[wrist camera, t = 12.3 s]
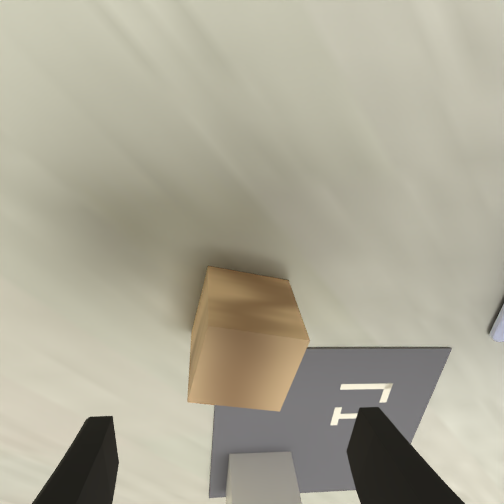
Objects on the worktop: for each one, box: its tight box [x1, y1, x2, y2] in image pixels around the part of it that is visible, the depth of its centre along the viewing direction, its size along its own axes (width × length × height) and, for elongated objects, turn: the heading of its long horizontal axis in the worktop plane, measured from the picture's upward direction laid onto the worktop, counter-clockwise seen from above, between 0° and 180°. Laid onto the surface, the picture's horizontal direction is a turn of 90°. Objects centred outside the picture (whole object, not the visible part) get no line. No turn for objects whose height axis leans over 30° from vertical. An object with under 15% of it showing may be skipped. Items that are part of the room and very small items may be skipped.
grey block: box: [226, 452, 302, 504], centre depth 26 cm, size 4×4×4 cm
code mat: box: [209, 348, 451, 498], centre depth 27 cm, size 15×15×1 cm
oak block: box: [187, 266, 310, 412], centre depth 19 cm, size 4×4×5 cm
